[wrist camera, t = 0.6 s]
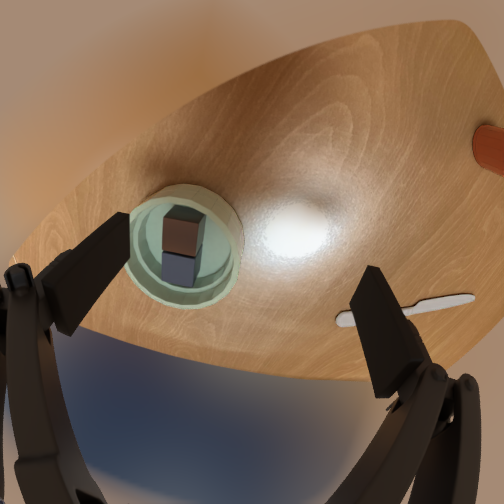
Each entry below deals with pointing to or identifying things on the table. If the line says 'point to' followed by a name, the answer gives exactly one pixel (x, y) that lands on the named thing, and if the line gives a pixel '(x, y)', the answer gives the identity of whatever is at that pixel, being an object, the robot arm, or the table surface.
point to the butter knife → (414, 308)
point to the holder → (489, 148)
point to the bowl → (213, 251)
